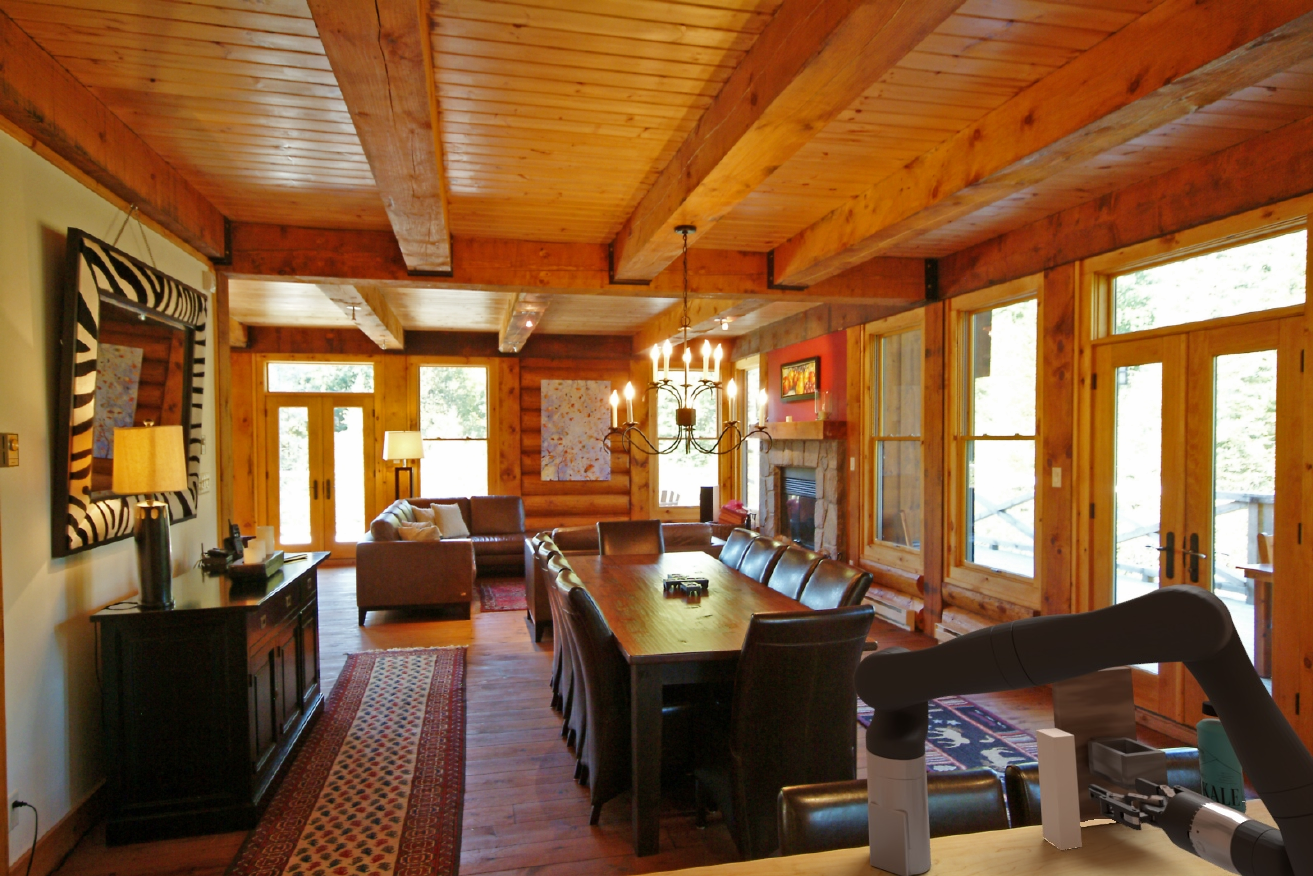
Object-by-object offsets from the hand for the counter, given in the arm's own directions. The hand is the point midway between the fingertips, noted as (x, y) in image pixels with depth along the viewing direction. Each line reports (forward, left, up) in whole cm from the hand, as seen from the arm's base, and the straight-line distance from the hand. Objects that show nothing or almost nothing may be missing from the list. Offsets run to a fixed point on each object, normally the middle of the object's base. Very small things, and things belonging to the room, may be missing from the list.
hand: (1113, 787), depth 109 cm
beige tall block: (+7, +9, -13) cm, 18 cm away
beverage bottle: (+36, -10, -13) cm, 40 cm away
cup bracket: (+19, +3, -13) cm, 23 cm away
